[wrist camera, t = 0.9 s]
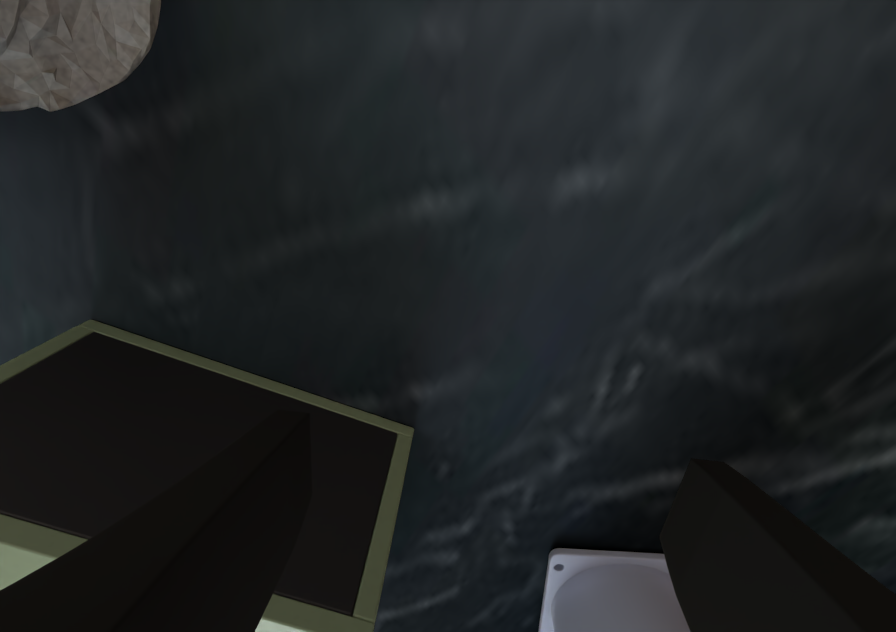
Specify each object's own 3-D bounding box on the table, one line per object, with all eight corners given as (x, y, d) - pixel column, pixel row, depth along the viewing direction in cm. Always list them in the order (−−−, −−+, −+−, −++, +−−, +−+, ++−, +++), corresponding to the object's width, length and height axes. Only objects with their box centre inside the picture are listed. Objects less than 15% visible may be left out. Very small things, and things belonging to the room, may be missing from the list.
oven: (348, 584, 26) (282, 823, 17) (84, 505, 24) (-135, 721, 16) (414, 427, 21) (370, 649, 12) (90, 318, 19) (-222, 479, 11)
